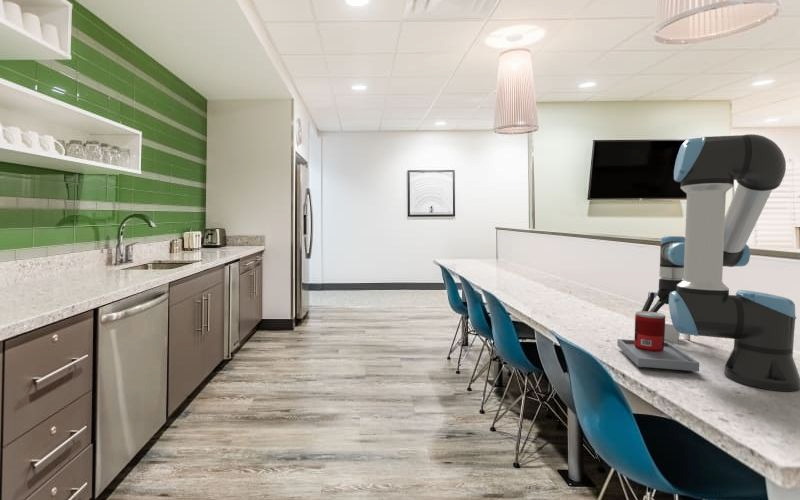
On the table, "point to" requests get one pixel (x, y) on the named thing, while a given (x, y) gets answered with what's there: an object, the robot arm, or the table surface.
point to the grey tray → (659, 357)
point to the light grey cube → (671, 332)
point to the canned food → (649, 331)
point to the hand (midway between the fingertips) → (668, 338)
